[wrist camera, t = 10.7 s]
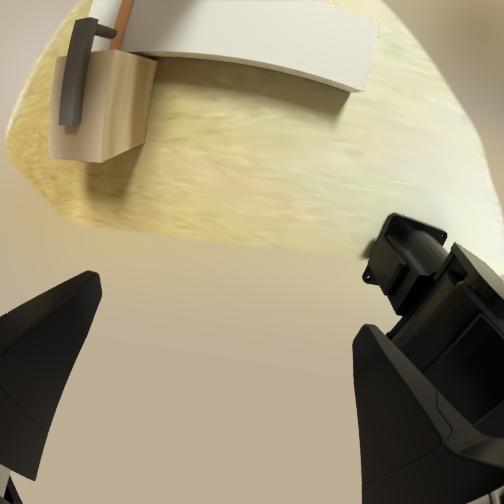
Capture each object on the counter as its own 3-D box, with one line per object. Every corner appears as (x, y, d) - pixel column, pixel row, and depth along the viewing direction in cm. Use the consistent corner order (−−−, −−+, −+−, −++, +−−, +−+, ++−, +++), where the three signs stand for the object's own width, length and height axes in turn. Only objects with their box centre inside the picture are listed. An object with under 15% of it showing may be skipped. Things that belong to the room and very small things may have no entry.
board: (365, 31, 12) (380, 22, 10) (351, 92, 15) (364, 91, 12) (112, 1, 11) (94, -7, 8) (97, 58, 13) (76, 56, 11)
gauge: (163, 37, 13) (115, 12, 7) (144, 142, 17) (92, 166, 11) (113, 39, 13) (55, 25, 7) (98, 139, 17) (40, 162, 11)
